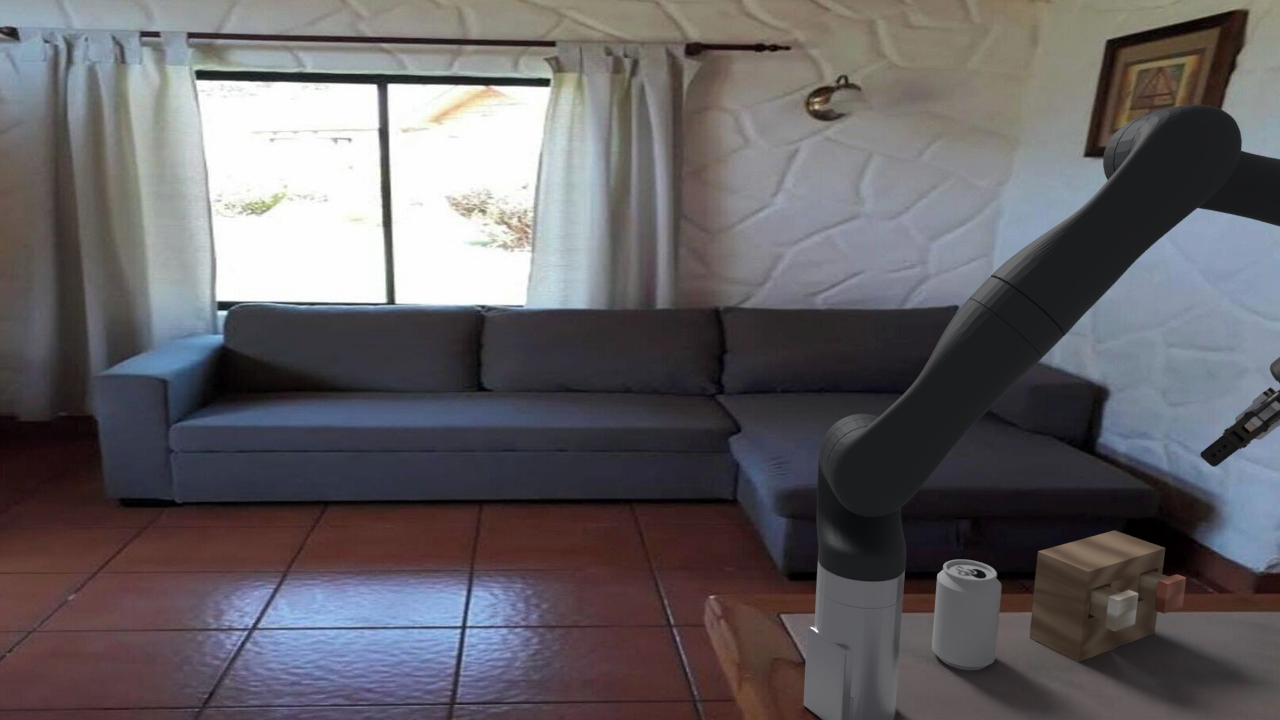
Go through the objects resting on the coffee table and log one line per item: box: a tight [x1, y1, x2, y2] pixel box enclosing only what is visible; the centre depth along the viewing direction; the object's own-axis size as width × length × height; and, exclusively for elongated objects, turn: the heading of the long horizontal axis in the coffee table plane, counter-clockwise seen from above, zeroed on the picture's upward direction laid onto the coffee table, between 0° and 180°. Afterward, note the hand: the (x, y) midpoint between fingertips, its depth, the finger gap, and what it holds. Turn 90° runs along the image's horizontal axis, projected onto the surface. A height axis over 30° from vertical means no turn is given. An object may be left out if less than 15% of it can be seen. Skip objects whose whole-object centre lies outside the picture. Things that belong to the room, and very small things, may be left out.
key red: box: [1138, 570, 1187, 615], centre depth 113 cm, size 4×9×4 cm, turn 29°
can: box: [931, 559, 1002, 671], centre depth 107 cm, size 8×8×12 cm
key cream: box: [1089, 585, 1138, 631], centre depth 109 cm, size 4×9×4 cm, turn 29°
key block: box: [1029, 530, 1166, 663], centre depth 113 cm, size 16×7×12 cm, turn 119°
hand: (1207, 459), depth 104 cm, fingers closed
